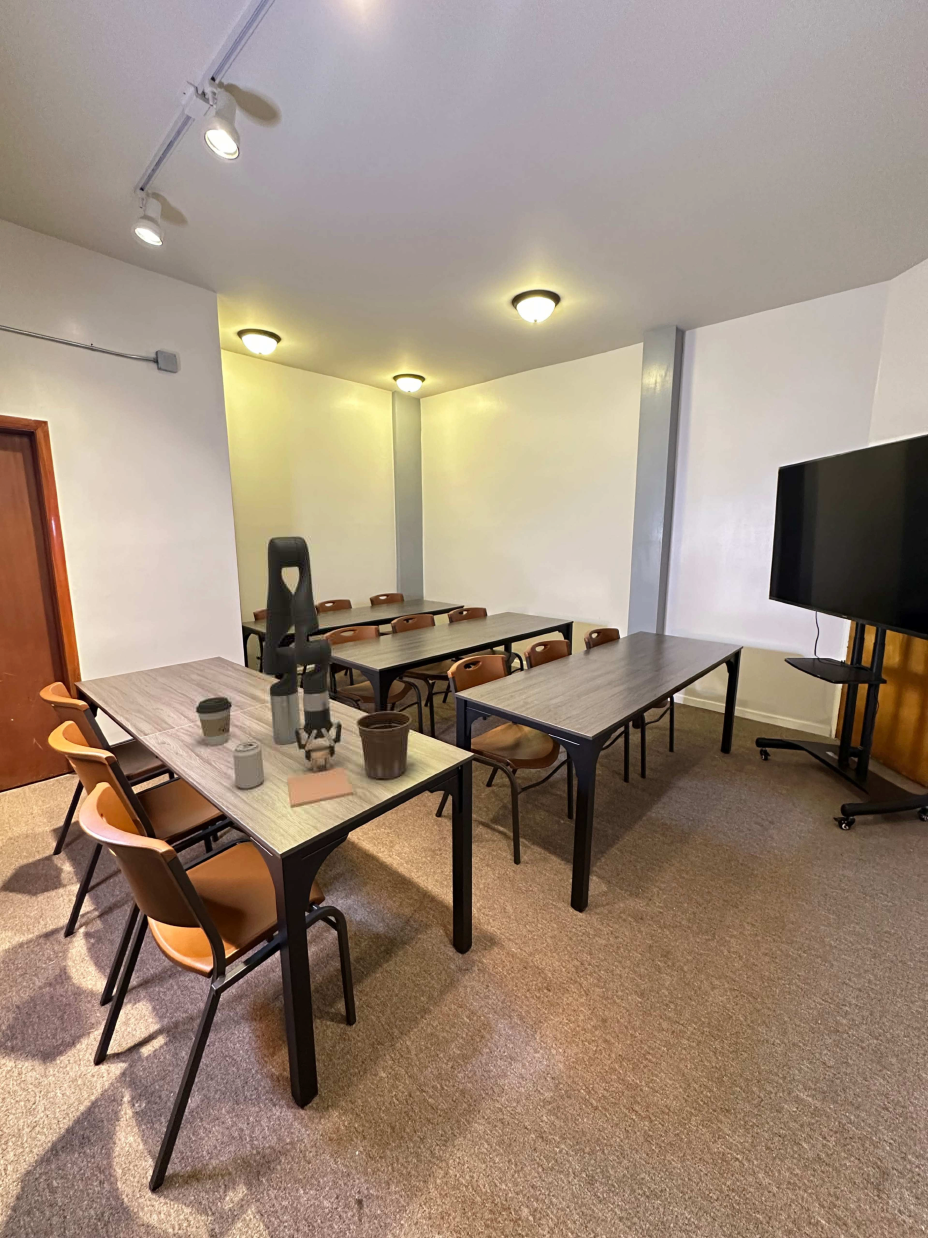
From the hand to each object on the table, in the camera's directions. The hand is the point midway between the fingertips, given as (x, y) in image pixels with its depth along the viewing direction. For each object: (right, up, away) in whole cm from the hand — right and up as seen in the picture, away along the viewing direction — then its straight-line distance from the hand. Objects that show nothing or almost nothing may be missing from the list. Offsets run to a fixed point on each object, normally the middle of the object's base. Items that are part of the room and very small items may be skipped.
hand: (320, 758), depth 149 cm
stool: (0, -3, +1) cm, 3 cm away
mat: (+3, -5, -11) cm, 13 cm away
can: (-18, -5, -8) cm, 20 cm away
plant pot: (+21, -4, -2) cm, 21 cm away
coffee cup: (-43, -1, +23) cm, 49 cm away
